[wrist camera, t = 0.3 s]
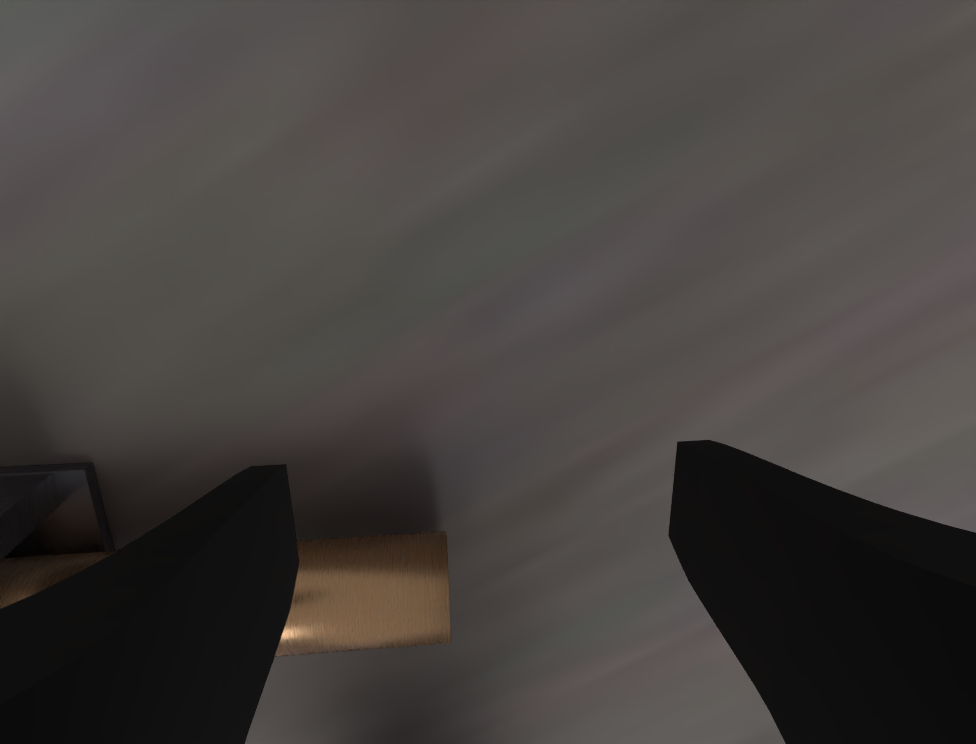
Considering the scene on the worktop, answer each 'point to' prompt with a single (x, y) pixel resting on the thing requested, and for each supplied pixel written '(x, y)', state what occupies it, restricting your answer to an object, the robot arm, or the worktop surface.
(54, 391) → the worktop surface
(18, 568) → the tube
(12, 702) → the robot arm
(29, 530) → the firebox
